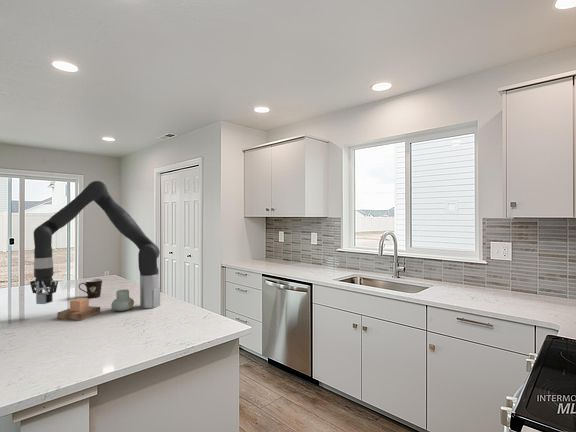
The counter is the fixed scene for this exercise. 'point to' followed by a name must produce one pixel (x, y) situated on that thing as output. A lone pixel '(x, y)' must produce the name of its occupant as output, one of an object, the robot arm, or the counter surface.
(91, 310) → the walnut plinth
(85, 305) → the terracotta block
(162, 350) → the counter surface
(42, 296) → the slate block
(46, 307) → the counter surface
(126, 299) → the air freshener
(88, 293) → the coffee mug
